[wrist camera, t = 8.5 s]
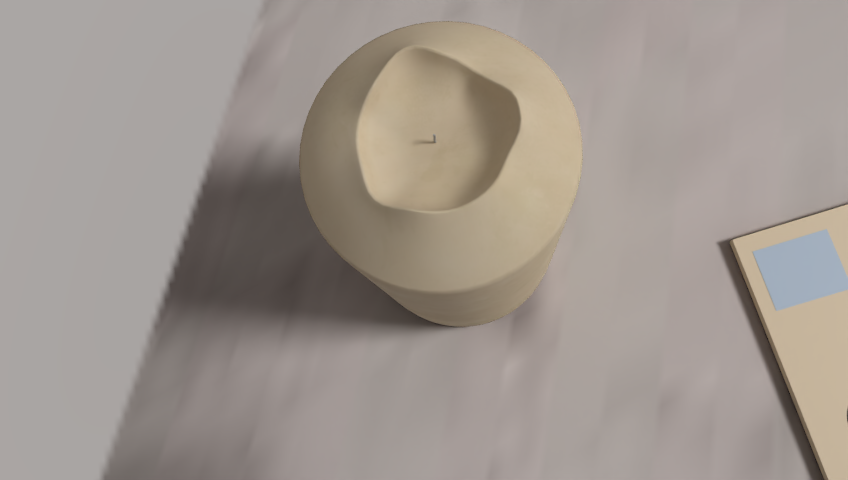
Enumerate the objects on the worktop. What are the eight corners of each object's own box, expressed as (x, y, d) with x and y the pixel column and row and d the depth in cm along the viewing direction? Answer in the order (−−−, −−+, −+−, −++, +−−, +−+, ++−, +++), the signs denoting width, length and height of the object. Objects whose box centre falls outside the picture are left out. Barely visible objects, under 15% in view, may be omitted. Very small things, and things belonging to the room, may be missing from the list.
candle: (360, 172, 23) (256, 17, 13) (531, 136, 23) (553, -50, 13) (389, 343, 22) (299, 312, 12) (570, 309, 22) (626, 247, 12)
